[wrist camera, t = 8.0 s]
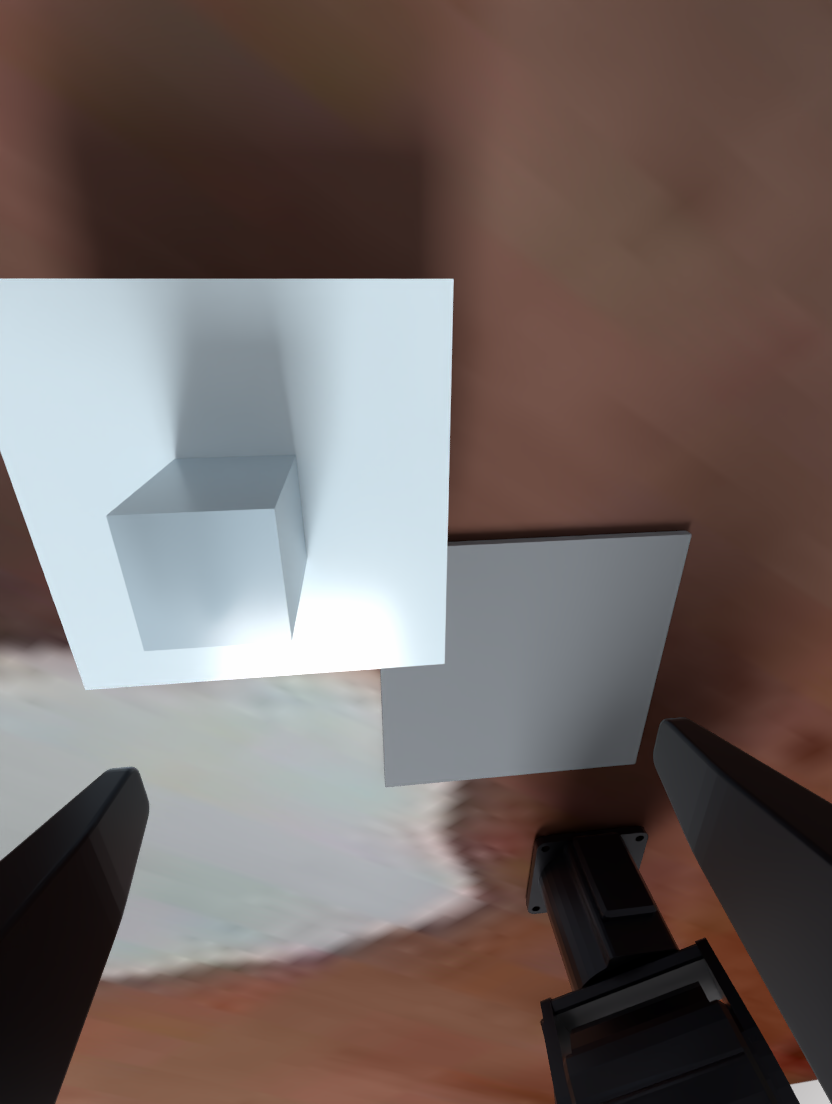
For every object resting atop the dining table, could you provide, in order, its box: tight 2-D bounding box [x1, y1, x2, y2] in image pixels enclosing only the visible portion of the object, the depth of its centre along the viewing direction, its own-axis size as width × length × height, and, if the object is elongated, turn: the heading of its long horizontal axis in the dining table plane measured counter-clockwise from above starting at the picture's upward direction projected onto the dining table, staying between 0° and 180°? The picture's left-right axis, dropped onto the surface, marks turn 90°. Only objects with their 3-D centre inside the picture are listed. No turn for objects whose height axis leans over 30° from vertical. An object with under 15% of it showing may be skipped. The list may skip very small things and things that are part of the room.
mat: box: [380, 531, 692, 787], centre depth 23 cm, size 13×13×1 cm
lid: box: [0, 279, 454, 690], centre depth 12 cm, size 11×11×5 cm
